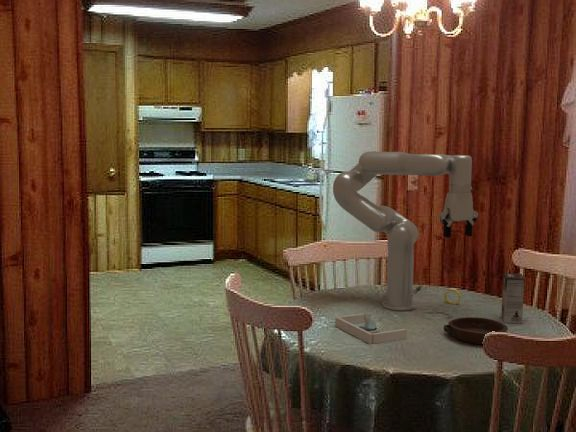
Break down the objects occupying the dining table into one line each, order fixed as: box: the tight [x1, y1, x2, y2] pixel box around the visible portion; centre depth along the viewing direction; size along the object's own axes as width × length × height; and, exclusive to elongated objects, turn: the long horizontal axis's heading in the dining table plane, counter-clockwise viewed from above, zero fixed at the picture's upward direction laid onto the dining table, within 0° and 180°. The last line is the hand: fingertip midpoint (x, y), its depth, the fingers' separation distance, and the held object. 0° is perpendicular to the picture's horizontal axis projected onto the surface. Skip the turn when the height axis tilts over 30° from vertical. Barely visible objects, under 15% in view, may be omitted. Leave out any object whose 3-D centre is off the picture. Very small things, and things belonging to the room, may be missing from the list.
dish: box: [443, 316, 509, 345], centre depth 209 cm, size 18×22×5 cm
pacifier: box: [358, 311, 380, 333], centre depth 216 cm, size 7×6×6 cm
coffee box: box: [500, 272, 525, 325], centre depth 231 cm, size 9×6×16 cm
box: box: [334, 312, 408, 345], centre depth 215 cm, size 22×14×3 cm, turn 26°
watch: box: [444, 287, 462, 305], centre depth 254 cm, size 6×3×6 cm, turn 62°
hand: (457, 236), depth 237 cm, fingers open, 9 cm apart
